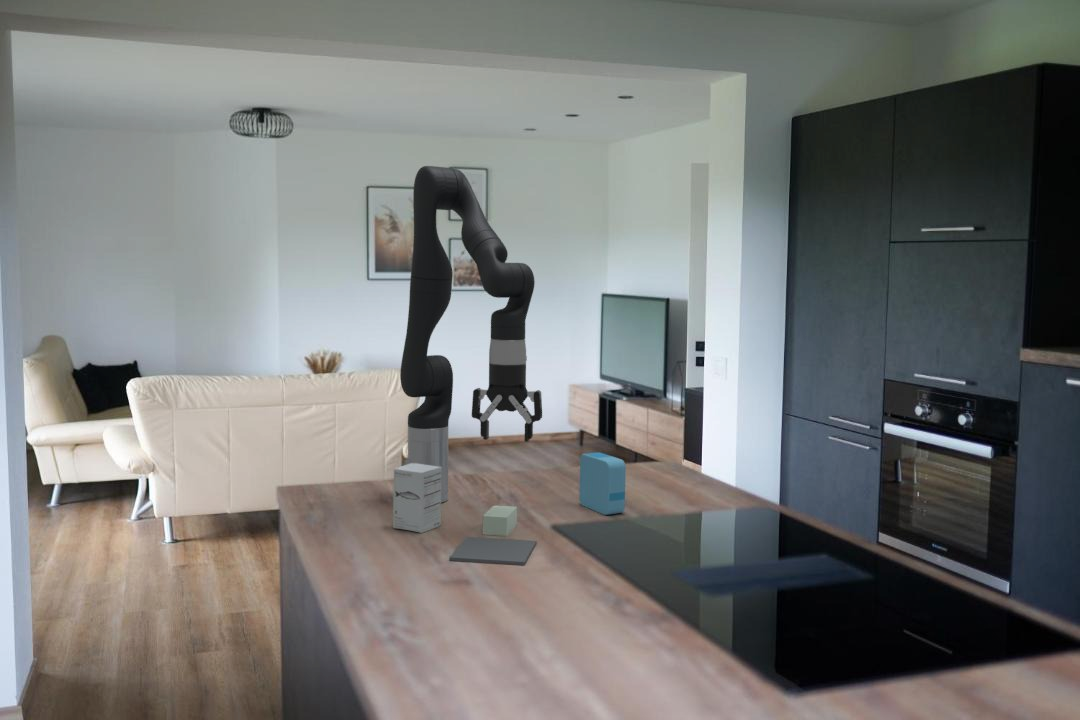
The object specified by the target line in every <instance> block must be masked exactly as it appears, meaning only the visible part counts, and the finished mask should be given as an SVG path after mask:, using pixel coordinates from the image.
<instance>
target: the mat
mask: <svg viewBox="0 0 1080 720" xmlns="http://www.w3.org/2000/svg"><path fill="white" fill-rule="evenodd" d="M536 546H537V540H528V539H515V538H513V539H512V538H511V539H510V538H497V537H496V538H494V537H478V536H466V537H465V538H464V539H463V541H462V542H461V543H460V544H459V545H458V547H456V549H454V551H453V552H452V554H451V555H450V556H449V558H448V559H449V561H453V562H468V563H482V564H483V563H485V564H498V565H500V564H501V565H515V566H526V564H527V561H528V560H529V558H530V556H531V555H532V552H533V551H534V549H535V548H536Z"/></svg>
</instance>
